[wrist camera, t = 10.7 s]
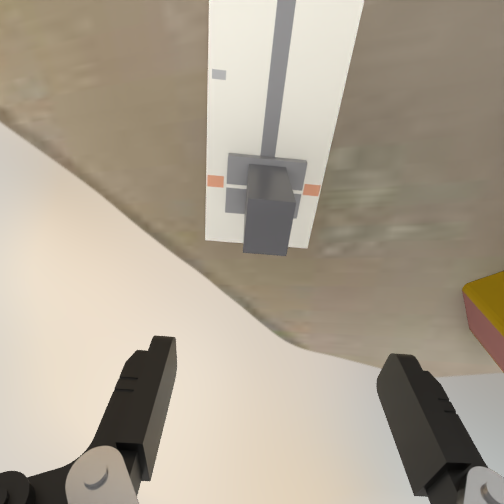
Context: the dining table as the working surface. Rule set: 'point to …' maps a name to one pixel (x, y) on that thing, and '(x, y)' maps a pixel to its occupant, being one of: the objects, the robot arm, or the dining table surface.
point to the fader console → (274, 95)
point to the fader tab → (265, 199)
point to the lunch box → (487, 313)
